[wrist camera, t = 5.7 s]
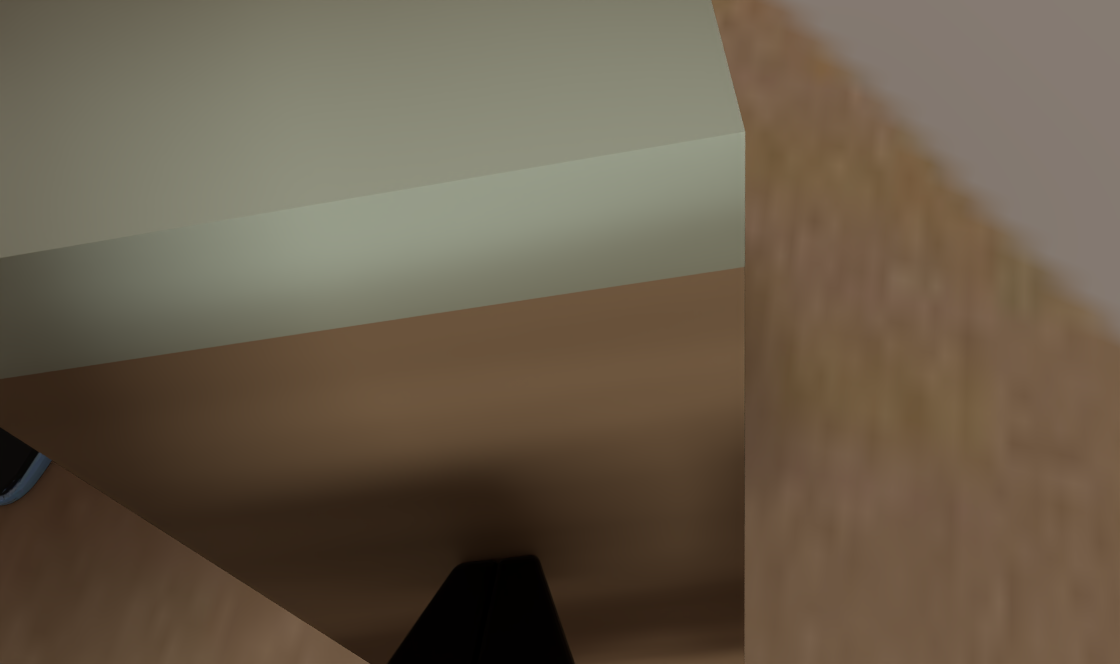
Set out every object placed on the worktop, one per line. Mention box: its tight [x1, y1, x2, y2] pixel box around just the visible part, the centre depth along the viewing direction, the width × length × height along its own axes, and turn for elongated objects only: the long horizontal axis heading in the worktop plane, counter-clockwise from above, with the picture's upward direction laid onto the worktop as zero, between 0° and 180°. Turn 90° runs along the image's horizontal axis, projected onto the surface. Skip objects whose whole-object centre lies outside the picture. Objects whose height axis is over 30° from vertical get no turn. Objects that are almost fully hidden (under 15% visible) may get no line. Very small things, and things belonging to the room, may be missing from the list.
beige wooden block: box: [0, 0, 745, 664], centre depth 10 cm, size 5×5×12 cm
